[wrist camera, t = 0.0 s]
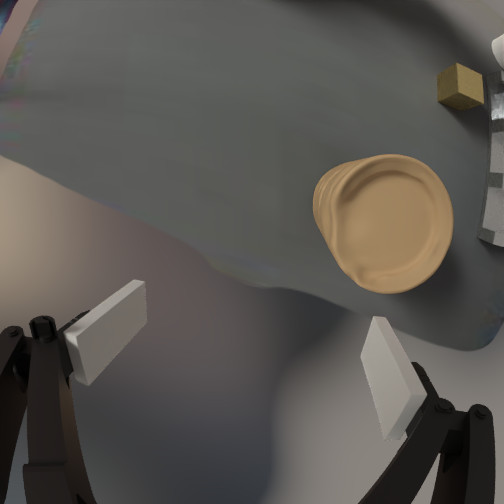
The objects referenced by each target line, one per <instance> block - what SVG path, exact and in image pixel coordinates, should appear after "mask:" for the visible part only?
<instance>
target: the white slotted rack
mask: <svg viewBox="0 0 504 504" xmlns="http://www.w3.org/2000/svg"><path fill="white" fill-rule="evenodd" d="M486 81H487V94H488V116H489V138H488V161H487V174H486V184H485V192H484V200H483V206H482V213H481V219H480V224H479V229H478V234H477V238H480V239H482V240H484V241H487V242H489V243H491V244H494V245H498V246H502V247H504V72H503V71H501V70H500V71H498V72H495V73H493V74H491V75H488V76H486Z"/></svg>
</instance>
